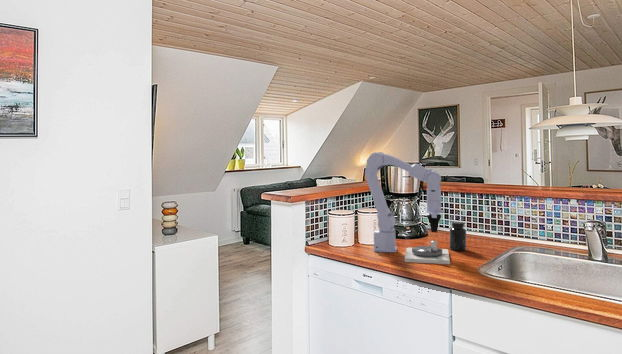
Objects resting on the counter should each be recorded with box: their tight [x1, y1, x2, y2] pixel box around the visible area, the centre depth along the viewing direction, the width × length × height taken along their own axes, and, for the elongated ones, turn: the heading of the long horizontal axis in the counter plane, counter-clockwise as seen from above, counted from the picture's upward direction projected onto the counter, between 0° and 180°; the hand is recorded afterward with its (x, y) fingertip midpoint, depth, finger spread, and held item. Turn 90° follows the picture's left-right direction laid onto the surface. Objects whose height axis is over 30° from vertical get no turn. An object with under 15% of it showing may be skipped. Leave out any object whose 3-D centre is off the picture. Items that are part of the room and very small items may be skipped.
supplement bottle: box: [449, 221, 467, 252], centre depth 167 cm, size 7×7×12 cm
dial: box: [411, 240, 443, 257], centre depth 157 cm, size 12×12×6 cm
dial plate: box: [404, 247, 451, 265], centre depth 157 cm, size 17×17×2 cm
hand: (434, 231), depth 161 cm, fingers closed
